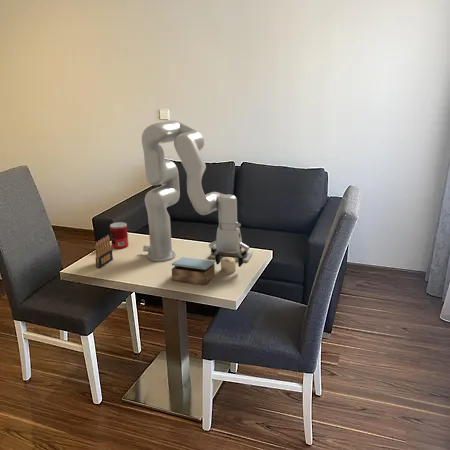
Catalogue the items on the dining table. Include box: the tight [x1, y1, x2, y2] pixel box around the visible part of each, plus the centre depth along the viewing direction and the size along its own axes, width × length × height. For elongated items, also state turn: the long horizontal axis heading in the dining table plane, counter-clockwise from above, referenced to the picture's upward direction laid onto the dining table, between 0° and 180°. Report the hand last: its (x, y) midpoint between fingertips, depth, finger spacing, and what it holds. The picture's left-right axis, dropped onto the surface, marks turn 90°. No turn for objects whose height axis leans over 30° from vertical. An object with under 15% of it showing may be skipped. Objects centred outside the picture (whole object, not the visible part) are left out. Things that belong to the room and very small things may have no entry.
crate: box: [171, 263, 216, 286], centre depth 192 cm, size 14×10×5 cm
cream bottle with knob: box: [220, 257, 236, 275], centre depth 198 cm, size 6×6×5 cm
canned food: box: [109, 221, 129, 250], centre depth 227 cm, size 8×8×11 cm
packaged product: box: [208, 245, 254, 263], centre depth 213 cm, size 18×5×10 cm
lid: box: [171, 256, 216, 270], centre depth 191 cm, size 14×10×1 cm
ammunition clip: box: [95, 234, 114, 269], centre depth 206 cm, size 11×2×12 cm, turn 162°
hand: (229, 264), depth 198 cm, fingers open, 9 cm apart
